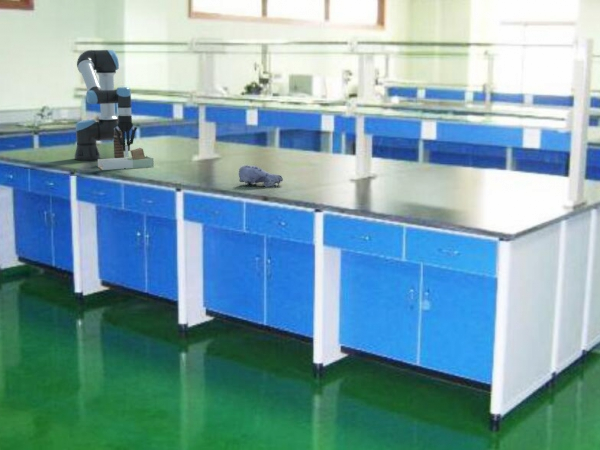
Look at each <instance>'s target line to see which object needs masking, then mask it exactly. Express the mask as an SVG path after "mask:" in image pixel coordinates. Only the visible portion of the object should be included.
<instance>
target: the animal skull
mask: <svg viewBox="0 0 600 450" xmlns="http://www.w3.org/2000/svg"><path fill="white" fill-rule="evenodd" d="M238 177H239V182H240V183H245V184H247V185H253V184H255V185H256V184H259V183H262V184H263V186H264V187H265V188H269V187H275V185H276V184H277V185H278V186H280V184H281V182H283V181H284V179H283V177H282V175H279V174H272V173H270V172H268V171H266V170H264V169H262V168H260V167H258V166H257V165H242V166H240V168H239V169H238Z"/></svg>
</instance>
